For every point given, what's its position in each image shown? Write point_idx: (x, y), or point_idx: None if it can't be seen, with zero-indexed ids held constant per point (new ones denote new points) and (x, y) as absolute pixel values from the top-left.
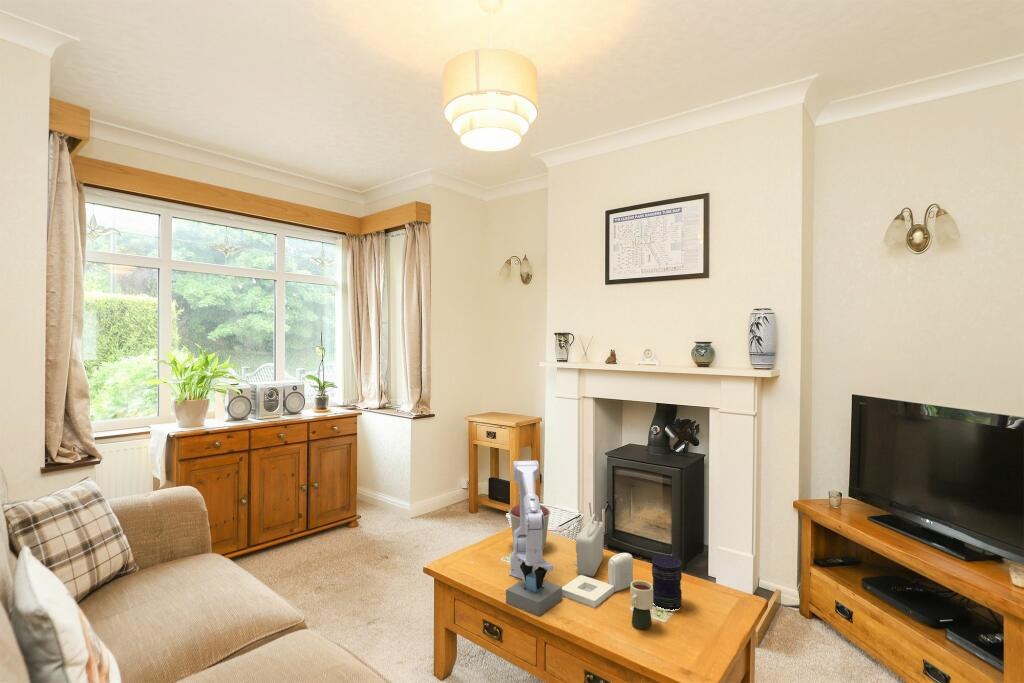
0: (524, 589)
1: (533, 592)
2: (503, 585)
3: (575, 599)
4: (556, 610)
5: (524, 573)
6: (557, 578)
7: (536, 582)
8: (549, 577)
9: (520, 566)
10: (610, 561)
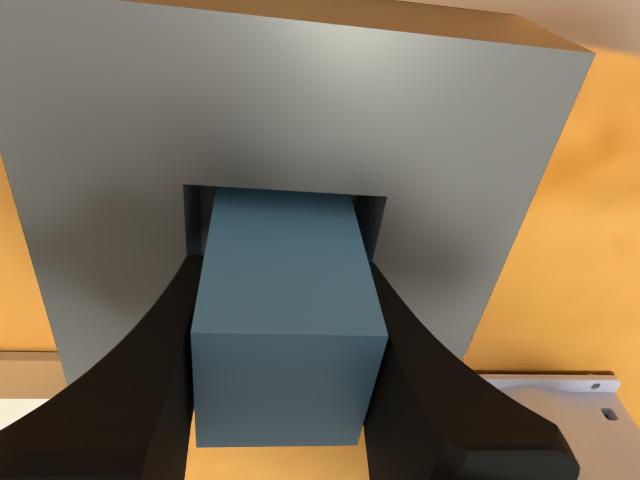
0: (363, 192)
1: (242, 204)
2: (623, 256)
3: (7, 362)
4: (2, 170)
5: (431, 360)
6: (307, 469)
7: (193, 304)
8: (355, 457)
9: (557, 448)
10: None
